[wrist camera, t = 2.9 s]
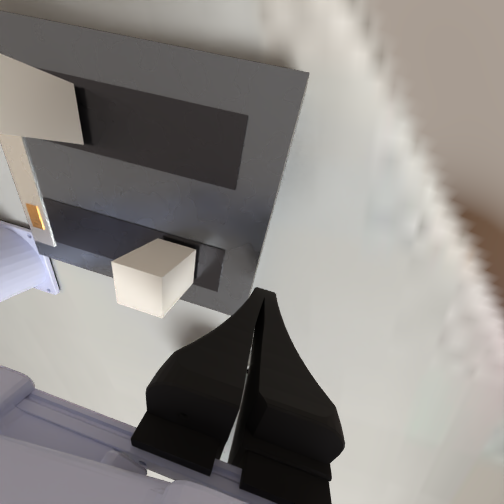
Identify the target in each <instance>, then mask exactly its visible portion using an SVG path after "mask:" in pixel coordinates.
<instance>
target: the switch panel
mask: <svg viewBox="0 0 504 504" xmlns="http://www.w3.org/2000/svg"><path fill="white" fill-rule="evenodd" d="M0 54H3V55H5V56H8V57H10V58H12V59H15V60H17V61H20V62H22V63H25V64H27V65H29V66H32V67H34V68H37V69H39V70H42V71H44V72H46V73H49V74H51V75H54V76H56V77H59V78H61V79H63V80H66V81H68V82H71V83H73V84H74V89H75V95H76V101H77V107H78V113H79V119H80V124H81V130H82V136H83V142H84V145H82V144H74V143H67V142H59V141H52V140H45V139H37V138H30V137H22V136H15V135H7V134H0V143H1V146H2V148H3V151H4V154H5V157H6V160H7V163H8V166H9V169H10V171H11V174H12V177H13V180H14V183H15V186H16V189H17V192H18V195H19V197H20V200H21V203H22V206H23V209H24V212H25V215H26V218H27V221H28V223H29V226H30V229H31V232H32V235H33V238H34V241H35V244H36V246H37V249H38V252H39V254H40V255H43V256H47V257H50V258H53V259H56V260H59V261H62V262H65V263H68V264H72V265H75V266H78V267H81V268H84V269H87V270H90V271H93V272H97V273H100V274H103V275H106V276H109V277H112V278H113V271H112V264H111V261H113V260H115V259H117V258H119V257H121V256H123V255H125V254H127V253H129V252H131V251H133V250H135V249H137V248H139V247H141V246H143V245H145V244H147V243H149V242H151V241H153V240H155V239H157V238H159V239H162V240H165V241H169V242H172V243H176V244H179V245H182V246H186V247H189V248H193V249H196V257H195V268H194V279H193V284H192V285H191V286H190V287H189V288H188V289H187V291H186V292H185V293H184V294H183V295H182V296H181V297H180V299H181V300H184V301H187V302H190V303H193V304H197V305H200V306H203V307H206V308H209V309H212V310H215V311H218V312H222V313H225V314H228V315H231V316H232V315H233V314H234V313H235V312H236V311H237V310H238V309H239V308H240V307H241V306H242V305H243V304H244V303H245V302H246V300H247V299H248V298H249V296H250V293H251V289H252V286H253V282H254V278H255V275H256V271H257V267H258V264H259V260H260V256H261V253H262V249H263V245H264V242H265V238H266V234H267V231H268V227H269V224H270V220H271V216H272V213H273V209H274V205H275V202H276V198H277V194H278V191H279V187H280V183H281V180H282V176H283V172H284V169H285V165H286V162H287V158H288V154H289V151H290V147H291V143H292V140H293V136H294V132H295V129H296V125H297V121H298V118H299V114H300V110H301V107H302V103H303V100H304V96H305V92H306V88H307V83H308V78H309V73H308V72H303V71H298V70H293V69H288V68H284V67H279V66H274V65H269V64H264V63H259V62H254V61H249V60H244V59H239V58H234V57H229V56H224V55H219V54H214V53H209V52H204V51H199V50H194V49H189V48H184V47H179V46H174V45H169V44H164V43H159V42H154V41H149V40H144V39H139V38H134V37H129V36H124V35H119V34H114V33H109V32H104V31H99V30H94V29H89V28H84V27H79V26H74V25H69V24H64V23H59V22H54V21H49V20H44V19H39V18H34V17H29V16H24V15H19V14H14V13H9V12H4V11H0Z"/></svg>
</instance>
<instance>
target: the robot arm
mask: <svg viewBox="0 0 504 504" xmlns="http://www.w3.org/2000/svg"><path fill="white" fill-rule="evenodd" d="M31 288H36V289H39V290H42V291H45V292H48V293H51V294H54V295H56V294H58V293H59V292H60V290H59V287H58V284H57V281H56V278H55V275H54V272H53V268H52V265H51V262H50V259H49V257H47V256H43V255H40V254H39V252H38V249H37V246H36V244H35V241H34V238H33V235H32V232H31V230H30V229H26V228H23V227H20V226H17V225H13V224H10V223H7V222H4V221H1V220H0V302H2V301H4V300H6V299H8V298H11V297H13V296H15V295H17V294H19V293H22V292H24V291H26V290H28V289H31ZM254 329H255V330H254ZM253 334H254V337H253ZM252 339H253V344H252ZM251 344H252V352H251V359H250V366H249V371H248V375H247V380H246V384H245V378H246V372H247V366H248V360H249V355H250V349H251ZM244 385H245V389H244ZM243 391H244V393H243ZM242 395H243V398H242ZM241 400H242V402H241ZM146 403H147V412H146V413H145V415H144V417H143V418H142V420H141V422H140V423H139V425H138V427H137V428H136V427H133V426H131V425H128V424H126V423H123V422H120V421H118V420H115V419H113V418H110V417H107V416H105V415H102V414H100V413H97V412H95V411H92V410H89V409H87V408H84V407H82V406H79V405H77V404H74V403H71V402H69V401H66V400H64V399H61V398H59V397H56V396H53V395H51V394H48V393H46V392H43V391H41V390H38V389H35V384H34V382H33V381H32V380H31V378H29V377H28V376H27V375H25V374H23V373H20V372H17V371H15V370H12V369H10V368H7V367H4V366H0V504H331V496H330V488H329V481H331V479H332V475H331V468H330V463H331V462H332V461H333V460H334V459H335V458H336V457H338V456H339V455H340V454H341V452H342V451H343V449H344V448H345V441H344V436H343V431H342V427H341V423H340V420H339V416H338V413H337V410H336V407H335V405H334V404H333V403H332V401H331V400H330V399H329V398H328V396H327V395H326V394H325V392H324V391H323V390H322V389H321V387H320V386H319V385H318V383H317V382H316V381H315V379H314V378H313V376H312V375H311V373H310V372H309V370H308V369H307V367H306V366H305V364H304V362H303V361H302V359H301V358H300V356H299V354H298V352H297V350H296V349H295V347H294V345H293V343H292V341H291V339H290V337H289V334H288V332H287V330H286V327H285V325H284V322H283V319H282V316H281V313H280V310H279V307H278V303H277V298H276V294H275V293H274V292H271V291H268V290H264V289H261V288H258V287H256V288H254V290H253V292H252V294H251V295H250V297H249V298H248V299H247V300H246V302H245V303H244V304H243V305H242V306H241V307H240V308H239V309H238V310H237V311H236V312H235V313H234V314H233V315H232V316H231V317H230V318H229V319H227V320H226V321H225V322H224V323H222V324H221V325H220V326H218V327H217V328H216V329H214V330H213V331H211V332H210V333H208V334H206V335H205V336H203V337H202V338H200V339H198V340H197V341H195V342H193V343H191V344H189V345H187V346H185V347H183V348H181V349H179V350H177V351H175V352H174V353H173V354H172V355H171V356H170V357H169V358H168V359H167V361H166V362H165V363H164V364H163V365H162V367H161V368H160V369H159V370H158V372H157V373H156V375H155V376H154V378H153V379H152V381H151V382H150V384H149V385H148V387H147V388H146ZM240 405H241V406H240ZM239 409H240V411H239ZM238 412H239V415H238ZM237 415H238V419H237V424H236V428H235V432H234V436H233V441H232V445H231V449H230V453H229V458H228V462H227V463H226V462H223V461H221V460H220V458H221V455H222V453H223V450H224V447H225V445H226V442H227V441H228V438H229V436H230V433H231V430H232V428H233V425H234V422H235V420H236V417H237ZM145 468H146V469H145ZM147 469H148V470H151V471H153V472H156V473H158V474H161V475H163V476H166V477H168V478H171V479H173V480H175V481H174V482H172V483H171V482H167V481H164V480H160V479H157V478H153V477H150V476H146V475H147Z"/></svg>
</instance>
